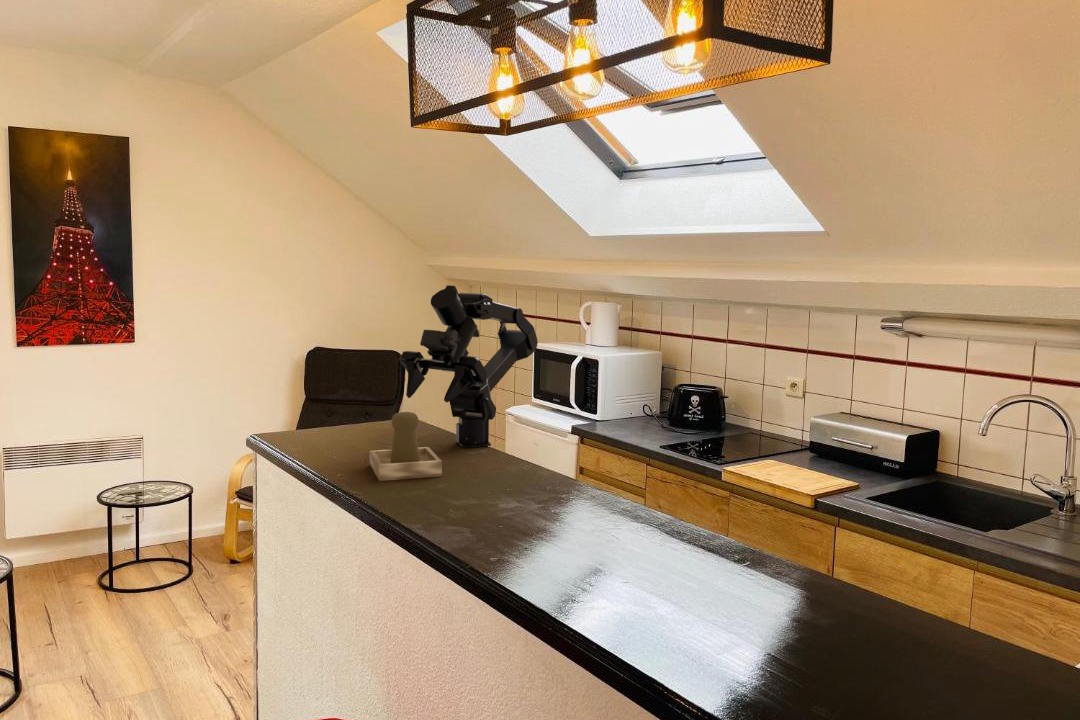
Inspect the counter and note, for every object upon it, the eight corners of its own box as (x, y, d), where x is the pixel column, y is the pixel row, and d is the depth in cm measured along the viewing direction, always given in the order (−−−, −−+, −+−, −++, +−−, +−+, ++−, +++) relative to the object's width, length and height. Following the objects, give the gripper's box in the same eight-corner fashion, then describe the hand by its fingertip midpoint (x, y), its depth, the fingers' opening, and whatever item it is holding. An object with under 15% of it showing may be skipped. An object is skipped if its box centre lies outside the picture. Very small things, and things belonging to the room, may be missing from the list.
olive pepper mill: (383, 468, 165) (383, 413, 163) (403, 461, 170) (403, 408, 169) (407, 473, 162) (407, 417, 160) (427, 466, 167) (426, 411, 166)
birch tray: (428, 461, 173) (428, 446, 173) (441, 476, 162) (441, 461, 162) (369, 465, 169) (369, 450, 169) (379, 481, 158) (379, 465, 158)
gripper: (404, 312, 177) (371, 371, 169) (479, 317, 169) (449, 379, 161) (425, 346, 185) (395, 403, 177) (499, 352, 177) (471, 412, 169)
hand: (426, 399), depth 171 cm, fingers open, 9 cm apart
